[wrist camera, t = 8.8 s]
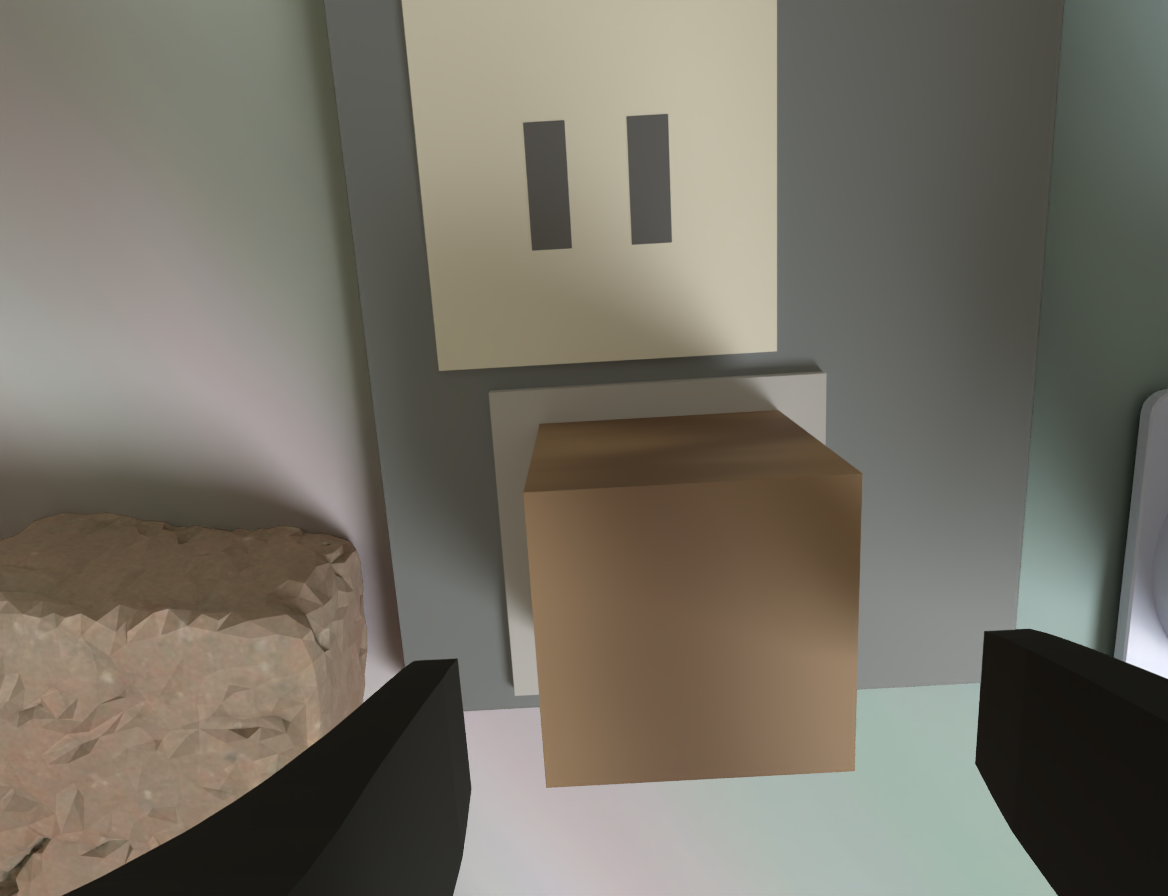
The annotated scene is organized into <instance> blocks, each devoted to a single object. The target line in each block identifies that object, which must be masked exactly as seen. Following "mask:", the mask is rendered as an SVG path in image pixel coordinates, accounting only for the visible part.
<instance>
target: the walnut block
mask: <svg viewBox="0 0 1168 896" xmlns="http://www.w3.org/2000/svg"><path fill="white" fill-rule="evenodd" d="M862 476H863V473H861V472H860V471H859V470H857V469H856V468H855V467H853V466H852V465H851V464H849V463H848V462H847V461H845V460H844V459H843V458H841V457H840V456H839V455H837V454H836V453H835V452H833V451H832V450H831V449H829V448H828V447H827V446H825V445H824V444H823V443H821V442H820V441H819V440H817V439H816V438H815V437H813V436H812V435H811V434H809V433H808V432H807V431H806V430H804V429H803V428H802V427H800V426H799V425H798V424H796V423H795V422H794V421H792V420H791V419H790V418H788V417H787V416H786V415H784V414H783V413H782V412H780V411H779V410H773V411H755V412H738V413H720V414H703V415H685V416H667V417H650V418H632V419H615V420H597V421H580V422H562V423H545V424H539V428H538V433H537V437H536V441H535V445H534V449H533V454H532V458H531V462H530V466H529V471H528V475H527V479H526V483H525V487H524V492H523V495H524V508H525V521H526V534H527V547H528V560H529V572H530V585H531V598H532V611H533V624H534V637H535V649H536V662H537V675H538V688H539V701H540V714H541V726H542V739H543V752H544V765H545V778H546V788H549V787H568V786H587V785H605V784H624V783H642V782H661V781H679V780H698V779H716V778H735V777H754V776H772V775H791V774H809V773H828V772H846V771H855V737H856V699H857V662H858V625H859V587H860V550H861V513H862Z"/></svg>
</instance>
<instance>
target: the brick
mask: <svg viewBox="0 0 1168 896" xmlns="http://www.w3.org/2000/svg"><path fill="white" fill-rule="evenodd" d="M366 657H367V627H366V622H365V617H364V610H363V581H362V573H361V562H360V559H359V556H358V552H357V550H356V549H355V547H354V546H353V544H352V543H351V542H350V541H347V540H344V539H340V538H337V537H334V536H331V535H328V534H324V533H317V534H307V533H305V532H303V531H301V530H300V528H295V527H289V526H278V527H274V528H269V529H262V528H260V529H257V530H255V531H250V530H245V529H241V528H240V529H237V530H234V531H226V530H222V529H209V528H205V527H200V526H193V527H190V528H188V527H186V526H180V527H174V526H171V525H170V524H168V523H167V522H158V521H141V520H138V519H136V518H133V517H129V516H124V515H118V514H112V513H95V514H70V513H60V514H57V515H53V516H50V517H46V518H43V519H39V520H36V521H34V522H33V523H32V524H30V525H29V526H28V527H27V528H25V529H24V530H23V531H21V532H20V533H19V534H17V535H16V536H13V537H10V538H7V539H4V540H0V896H62V895H64V894H66V893H68V892H70V891H73V890H75V889H77V888H79V887H81V886H83V885H85V884H87V883H90V882H92V881H94V880H96V879H98V878H100V877H102V876H104V875H106V874H107V873H109V872H111V871H113V870H115V869H117V868H119V867H120V866H122V865H124V864H126V863H128V862H130V861H132V860H133V859H135V858H137V857H139V856H141V855H143V854H145V853H146V852H148V851H150V850H152V849H154V848H156V847H158V846H160V845H161V844H163V843H165V842H167V841H169V840H171V839H173V838H174V837H176V836H178V835H180V834H182V833H184V832H185V831H187V830H189V829H190V828H192V827H194V826H195V825H197V824H199V823H200V822H202V821H204V820H205V819H207V818H208V817H210V816H212V815H213V814H215V813H216V812H218V811H220V810H221V809H223V808H224V807H226V806H228V805H229V804H231V803H232V802H234V801H235V800H237V799H239V798H240V797H242V796H243V795H244V794H246V793H247V792H249V791H250V790H252V789H253V788H255V787H256V786H258V785H259V784H261V783H262V782H264V781H265V780H266V779H268V778H269V777H271V776H272V775H273V774H275V773H276V772H277V771H279V770H280V769H281V768H283V767H284V766H285V765H286V764H288V763H289V762H290V761H292V760H293V759H294V758H296V757H297V756H298V755H300V754H301V753H302V752H303V751H305V750H306V749H307V748H309V747H310V746H311V745H313V744H314V743H315V742H317V741H318V740H319V739H320V738H322V737H323V736H324V735H326V734H327V733H328V732H329V731H331V730H332V729H333V728H334V727H335V726H337V725H338V724H339V723H340V722H341V721H343V720H344V719H345V718H346V717H347V716H348V715H350V714H351V713H352V712H353V711H354V710H356V709H357V708H358V707H359V706H360V705H361V704H362V702H363V695H364V688H365V675H364V674H365V666H366Z"/></svg>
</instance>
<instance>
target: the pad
mask: <svg viewBox="0 0 1168 896" xmlns="http://www.w3.org/2000/svg"><path fill="white" fill-rule="evenodd" d="M826 379H827V373H825V372H823V371H819V372H801V373H784V374H767V375H749V376H732V377H715V378H698V379H680V380H663V381H646V382H628V383H611V384H594V385H576V386H559V387H542V388H525V389H507V390H490V392H489V403H490V414H491V426H492V437H493V449H494V461H495V472H496V484H497V495H498V507H499V518H500V530H501V542H502V553H503V565H504V576H505V588H506V599H507V611H508V622H509V634H510V646H511V657H512V669H513V680H514V692H515V696H523V695H539V688H538V675H537V662H536V649H535V637H534V624H533V611H532V598H531V585H530V572H529V560H528V547H527V534H526V521H525V508H524V495H523V492H524V487H525V483H526V479H527V475H528V471H529V466H530V462H531V458H532V454H533V449H534V445H535V441H536V437H537V433H538V428H539V424H545V423H562V422H580V421H597V420H615V419H632V418H650V417H667V416H685V415H703V414H720V413H738V412H755V411H773V410H779V411H780V412H782V413H783V414H784V415H786V416H787V417H788V418H790V419H791V420H792V421H794V422H795V423H796V424H798V425H799V426H800V427H802V428H803V429H804V430H806V431H807V432H808V433H809V434H811V435H812V436H813V437H815V438H816V439H817V440H819V441H820V442H821V443H823V444H824V445H825V446H826Z"/></svg>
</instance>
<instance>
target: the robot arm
mask: <svg viewBox="0 0 1168 896" xmlns="http://www.w3.org/2000/svg"><path fill="white" fill-rule="evenodd" d="M975 764H976V766H977V768H978V770H979V772H980V774H981V775H982V777H983V779H984V781H985V783H986V785H987V787H988V789H989V791H990V793H991V795H992V797H993V799H994V800H995V802H996V804H997V806H998V808H999V809H1000V811H1001V813H1002V815H1003V816H1004V818H1005V820H1006V822H1007V823H1008V825H1009V827H1010V829H1011V830H1012V832H1013V833H1014V835H1015V836H1016V838H1017V839H1018V841H1019V842H1020V843H1021V845H1022V846H1023V848H1024V849H1025V851H1026V852H1027V853H1028V855H1029V856H1030V858H1031V859H1032V860H1033V862H1034V863H1035V864H1036V866H1037V867H1038V869H1039V870H1040V871H1041V873H1042V874H1043V876H1044V877H1045V878H1046V880H1047V881H1048V883H1049V884H1050V885H1051V887H1052V888H1053V889H1054V891H1055V892H1056V894H1057V895H1058V896H1168V389H1164V390H1160V391H1157V392H1155V393H1154V394H1152V395H1151V396H1149V397H1148V399H1147V400H1146V401H1145V402H1144V404H1143V407H1142V410H1141V415H1140V425H1139V434H1138V443H1137V452H1136V461H1135V470H1134V479H1133V488H1132V497H1131V507H1130V516H1129V525H1128V534H1127V543H1126V552H1125V561H1124V570H1123V579H1122V589H1121V598H1120V607H1119V616H1118V625H1117V634H1116V643H1115V652H1114V657H1111V656H1109V655H1106V654H1103V653H1101V652H1098V651H1096V650H1093V649H1090V648H1088V647H1085V646H1082V645H1080V644H1077V643H1074V642H1071V641H1069V640H1066V639H1063V638H1060V637H1057V636H1054V635H1051V634H1047V633H1044V632H1040V631H1036V630H1032V629H1016V630H996V631H984V641H983V656H982V671H981V686H980V701H979V716H978V731H977V746H976V761H975ZM470 795H471V781H470V771H469V762H468V752H467V742H466V733H465V723H464V713H463V704H462V694H461V685H460V675H459V665H458V658H456V659H437V660H418V661H413V662H411V663H410V664H409V665H407V666H406V667H405V668H403V669H402V670H401V671H400V672H399V673H397V674H396V675H395V676H394V677H393V678H392V679H390V680H389V681H388V682H387V683H386V684H385V685H383V686H382V687H381V688H380V689H379V690H378V691H377V692H375V693H374V694H373V695H372V696H371V697H370V698H369V699H367V700H366V701H365V702H364V703H363V704H361V705H360V706H359V707H358V708H357V709H356V710H354V711H353V712H352V713H351V714H350V715H348V716H347V717H346V718H345V719H344V720H343V721H341V722H340V723H339V724H338V725H337V726H335V727H334V728H333V729H332V730H331V731H329V732H328V733H327V734H326V735H324V736H323V737H322V738H320V739H319V740H318V741H317V742H315V743H314V744H313V745H311V746H310V747H309V748H307V749H306V750H305V751H303V752H302V753H301V754H300V755H298V756H297V757H296V758H294V759H293V760H292V761H290V762H289V763H288V764H286V765H285V766H284V767H283V768H281V769H280V770H279V771H277V772H276V773H275V774H273V775H272V776H271V777H269V778H268V779H266V780H265V781H264V782H262V783H261V784H259V785H258V786H256V787H255V788H253V789H252V790H250V791H249V792H247V793H246V794H244V795H243V796H242V797H240V798H239V799H237V800H235V801H234V802H232V803H231V804H229V805H228V806H226V807H224V808H223V809H221V810H220V811H218V812H216V813H215V814H213V815H212V816H210V817H208V818H207V819H205V820H204V821H202V822H200V823H199V824H197V825H195V826H194V827H192V828H190V829H189V830H187V831H185V832H184V833H182V834H180V835H178V836H176V837H174V838H173V839H171V840H169V841H167V842H165V843H163V844H161V845H160V846H158V847H156V848H154V849H152V850H150V851H148V852H146V853H145V854H143V855H141V856H139V857H137V858H135V859H133V860H132V861H130V862H128V863H126V864H124V865H122V866H120V867H119V868H117V869H115V870H113V871H111V872H109V873H107V874H106V875H104V876H102V877H100V878H98V879H96V880H94V881H92V882H90V883H87V884H85V885H83V886H81V887H79V888H77V889H75V890H73V891H70V892H68V893H66V894H64V895H62V896H453V893H454V889H455V885H456V881H457V878H458V874H459V869H460V865H461V861H462V857H463V849H464V842H465V835H466V828H467V820H468V812H469V803H470Z"/></svg>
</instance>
